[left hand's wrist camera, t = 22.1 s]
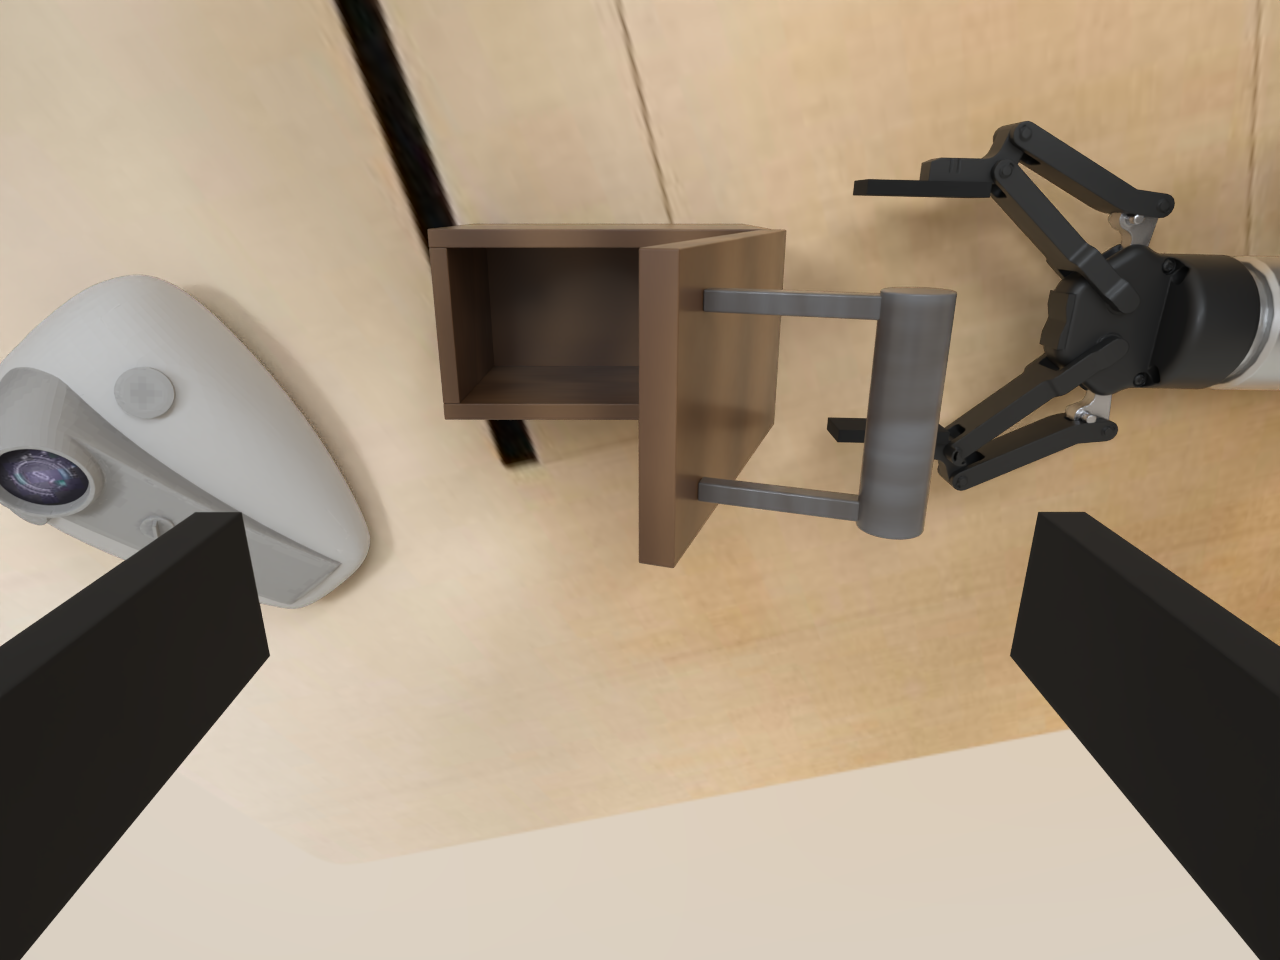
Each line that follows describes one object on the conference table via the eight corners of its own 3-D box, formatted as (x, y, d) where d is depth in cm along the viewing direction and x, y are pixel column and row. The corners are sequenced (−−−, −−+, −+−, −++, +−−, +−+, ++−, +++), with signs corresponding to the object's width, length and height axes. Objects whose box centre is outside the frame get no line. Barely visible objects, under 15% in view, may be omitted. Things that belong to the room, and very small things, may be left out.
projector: (81, 578, 56) (-100, 699, 42) (13, 259, 48) (-238, 280, 34) (380, 594, 56) (297, 719, 43) (360, 280, 49) (250, 310, 35)
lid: (638, 563, 24) (917, 608, 22) (637, 247, 21) (968, 253, 18) (751, 422, 40) (921, 437, 38) (761, 229, 37) (948, 231, 34)
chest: (484, 376, 51) (444, 419, 41) (473, 223, 48) (427, 228, 37) (736, 376, 51) (760, 419, 41) (743, 223, 48) (771, 229, 37)
